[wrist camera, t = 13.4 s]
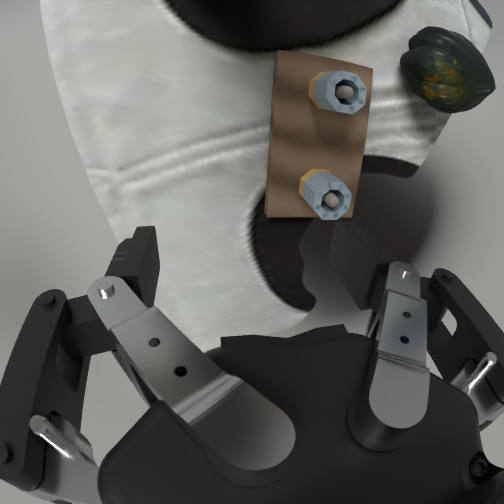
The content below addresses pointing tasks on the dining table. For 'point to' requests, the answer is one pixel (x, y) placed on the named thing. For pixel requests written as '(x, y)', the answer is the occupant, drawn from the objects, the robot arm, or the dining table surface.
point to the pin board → (311, 134)
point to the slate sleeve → (320, 184)
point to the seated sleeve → (325, 91)
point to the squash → (447, 70)
